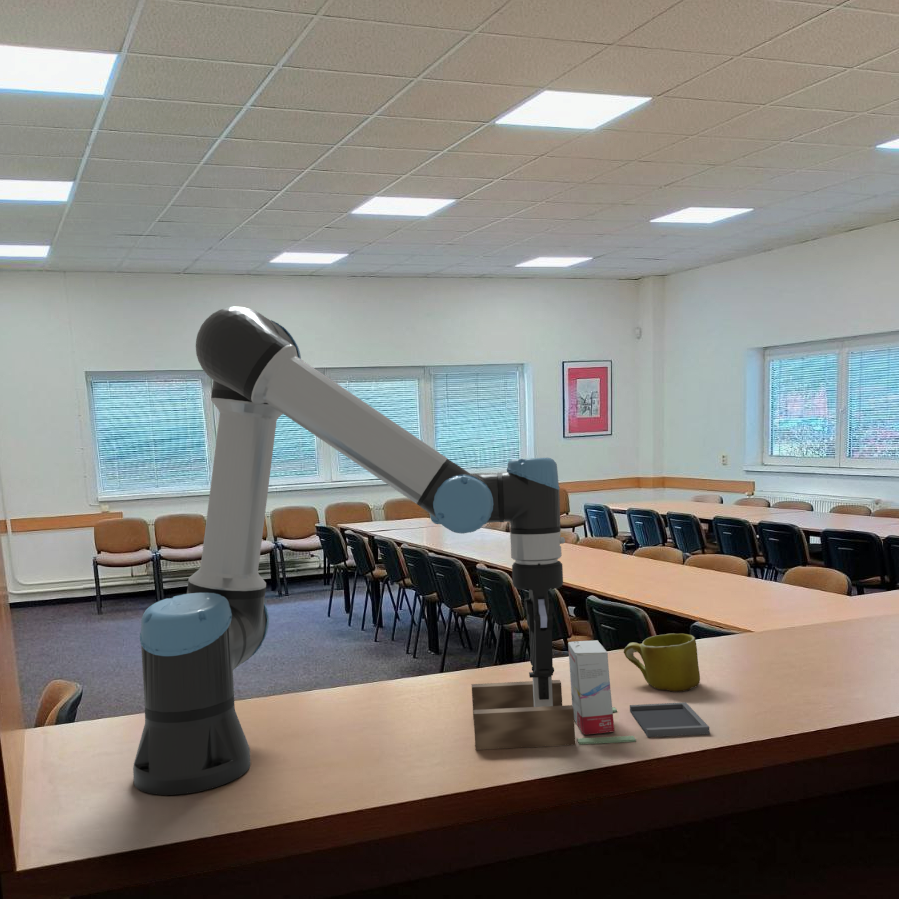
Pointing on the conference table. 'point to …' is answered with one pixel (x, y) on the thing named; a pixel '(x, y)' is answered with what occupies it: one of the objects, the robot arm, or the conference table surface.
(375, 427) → the robot arm
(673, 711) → the grey flat tray
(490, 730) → the tunnel walls
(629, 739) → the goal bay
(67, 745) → the conference table surface
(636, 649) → the mug
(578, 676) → the ink box
